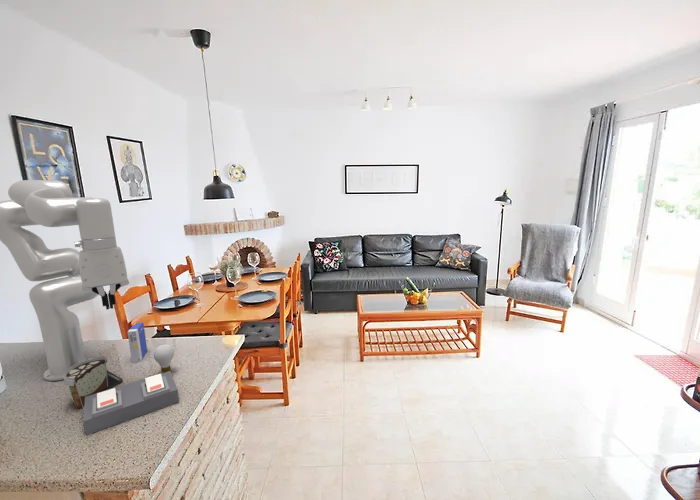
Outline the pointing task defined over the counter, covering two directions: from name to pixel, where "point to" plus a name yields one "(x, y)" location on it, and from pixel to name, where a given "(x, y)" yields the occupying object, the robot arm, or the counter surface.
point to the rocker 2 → (154, 383)
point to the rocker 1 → (106, 399)
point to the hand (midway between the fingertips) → (109, 307)
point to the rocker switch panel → (129, 404)
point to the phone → (112, 380)
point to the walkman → (137, 342)
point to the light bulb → (164, 356)
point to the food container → (86, 379)
